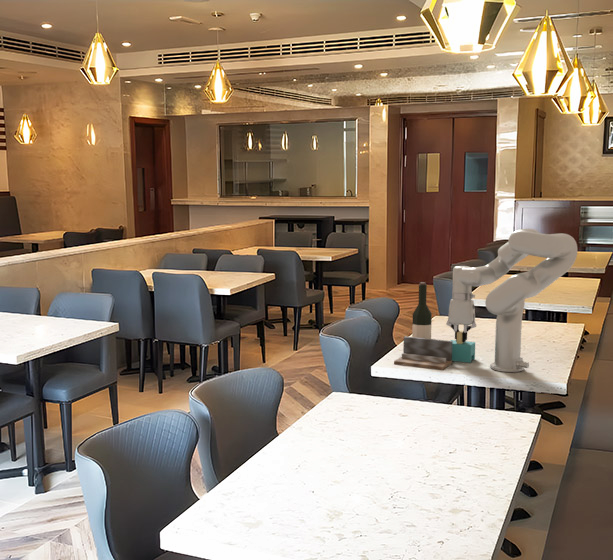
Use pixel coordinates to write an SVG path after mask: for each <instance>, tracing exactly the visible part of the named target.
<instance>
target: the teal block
mask: <svg viewBox="0 0 613 560" xmlns="http://www.w3.org/2000/svg"><path fill="white" fill-rule="evenodd" d="M463 331H464V330H459V332H457V342H456V339H451V340H450V341H453V343H452V362H453V361H454V362H461V363H462V362H463V363H470V364H471V363H472V360H476V341H468V340H466V341H465V342H462V333H463Z"/></svg>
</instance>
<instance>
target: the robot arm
mask: <svg viewBox="0 0 613 560" xmlns="http://www.w3.org/2000/svg"><path fill="white" fill-rule="evenodd" d="M528 256H532V257H538V258H543V259H544V260H542V261H540V262H539V263H538V264H537V265H535V266H534V267H533V268H531V269H530V270H528V271H525V272H520V273H516V274H513V275H510V277H508V278H507V279H505V280H504V281H502V283H500V284H499V285H497V286H496V287H495V288H493V289H492V290H491V291H490V292H489V293H488V294H487V295H486V298H485V301H484V302H485V308H486V309H487V311H488V312H489V313H490V314H493V315H496V320H495V337H494V339H495V341H494V342H495V343H494V361H493V362H491V363H490V366H489V367H490V369H492V370H494V371H499V372H504V373H519V372H522V371H524V370H525V369H529V368H530V363H529V361H524V359H523V357H521V351H522V350H521V346H522V321H523V315H524V314H523V313H524V308H525V301H526V300H525V299H530V298H533V297H536V296H537V295H539V294H540V293H541V292H542V291H544V290H545V289H546V288H548V287H550V285H552V284H553V283H554V282H555V281H557V280H559V279H560V278H561V277H562V276H564V275H565V274H566V273H567V272H569V270H570V269H571V268H572V267H573V265H574V264H575V261H576V259H577V256H578V244H577V241H576V240H575V238H574V237H573V236H571V235H570V234H568V233H550V234H548V233H543V232H542V233H541V232H539V231H538V230H537V229H534V228H519V229H517V230H515V231H513V232H511V233H510V235H509V238H508V241H507V242H506V243H505V244H503V245H501V246H500V247H499V248H498V249H497V257H496V258H494V259H493V260H492V261H490V262H489V263H487V264H486V265H483V266H482V265H481V266H476V267H471V266H467V265H456V266H454V267H453V269H452V292H451V293H452V297H451V299H450V301H449V307H448V315H447V321H446V324H445V325H446V326H448V327H450V328H451V329H452V330H453V332H454V340H456V342H457V332H459V331H460V326H463V330H462V331H463V333H462V342H465V341H468V332H469V331H470V330H472V329H474V328H476V327H477V323H476V313H475V311H476V309H475V302H474V300H473V299H475V298H476V294H473V292H472V288H473V287H482V286H486V285H492V283H494V282H496V281H498V280H500V279H501V278H502V277H504V276H505V275H506V274H508V273H509V271H510V270H512V268H513V267H514V266H515V265H517V264H518V263H520V262H521V261H522V260H524V259H526V257H528Z"/></svg>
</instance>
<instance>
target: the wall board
mask: <svg viewBox="0 0 613 560" xmlns="http://www.w3.org/2000/svg"><path fill="white" fill-rule="evenodd" d="M452 343H453V341H451V340H444V339H436V338H435V339H434V338H431V339H426V338H416V337H412V336H404V337H403V347H402V348H403V349H402V350H403V352H402V353H401V356H400V357H398V358H397V359H395V360H394V361H393V364H394V365H400V366H408V367H414V368H415V367H416V368H424V369H425V368H426V369H434V370H441V371H444V370H445V369H446V368H447V366H448V367H449V366H450V365H451V364H453V361H452Z"/></svg>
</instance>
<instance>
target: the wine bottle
mask: <svg viewBox="0 0 613 560" xmlns="http://www.w3.org/2000/svg"><path fill="white" fill-rule="evenodd" d="M426 283H427V282H423V281H421V282H419V284H418V305H417V306H416V308H415V309H414V311H413V313H412V324H411V326H412V328H411V329H412V332H411V337H416V338H426V339H432V321H433V319H432V315H433V314H432V311H431V310H430V309H429V306H428V305H427V293H428V291H427V288H428V286H427V284H426Z"/></svg>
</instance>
